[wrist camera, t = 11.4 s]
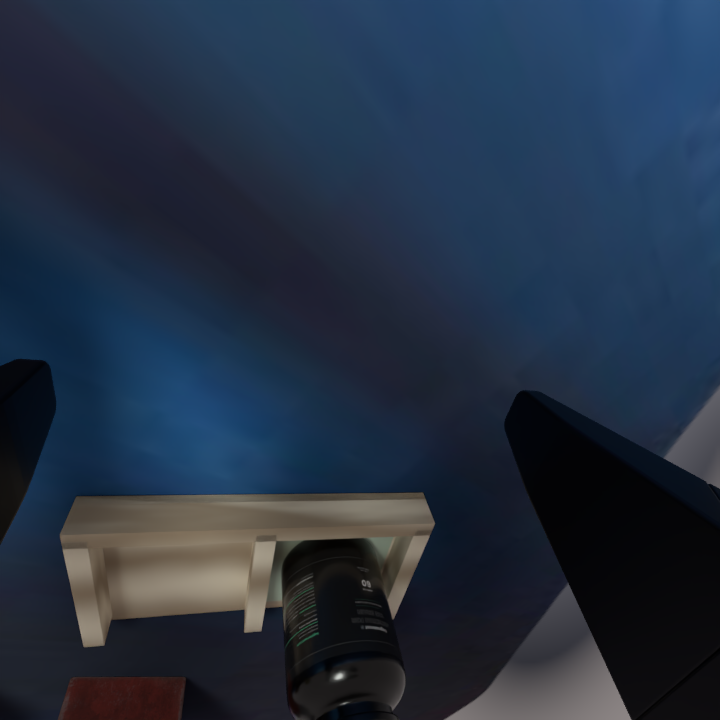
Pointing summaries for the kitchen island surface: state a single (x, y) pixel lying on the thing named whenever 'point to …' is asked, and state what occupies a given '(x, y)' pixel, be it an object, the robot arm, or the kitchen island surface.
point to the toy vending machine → (124, 698)
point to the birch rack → (222, 550)
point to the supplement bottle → (339, 633)
